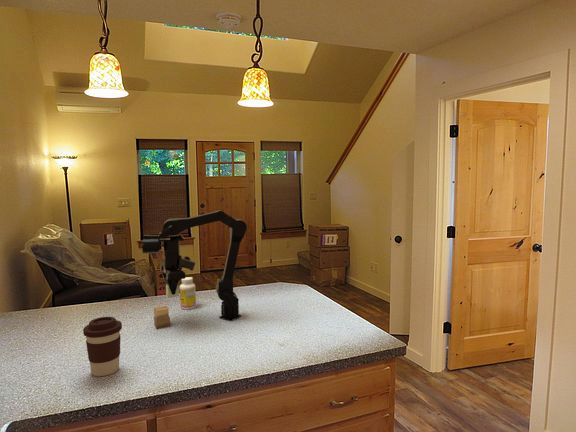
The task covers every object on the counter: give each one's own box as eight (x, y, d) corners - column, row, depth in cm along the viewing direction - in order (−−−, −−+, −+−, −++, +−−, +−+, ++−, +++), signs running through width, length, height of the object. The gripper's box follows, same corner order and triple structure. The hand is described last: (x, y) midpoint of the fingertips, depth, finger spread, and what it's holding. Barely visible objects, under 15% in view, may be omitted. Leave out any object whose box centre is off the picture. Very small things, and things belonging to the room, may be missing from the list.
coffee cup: (129, 362, 116) (126, 313, 115) (115, 379, 106) (112, 326, 105) (95, 363, 116) (93, 314, 115) (79, 380, 106) (75, 327, 105)
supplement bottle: (179, 306, 168) (177, 277, 167) (194, 304, 171) (193, 275, 170) (181, 311, 162) (180, 281, 161) (197, 308, 165) (196, 279, 164)
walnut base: (170, 327, 145) (169, 317, 144) (156, 329, 142) (156, 320, 142) (167, 322, 149) (167, 314, 149) (154, 325, 147) (153, 316, 147)
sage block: (178, 296, 146) (178, 285, 145) (168, 297, 144) (167, 287, 144) (176, 293, 149) (176, 283, 149) (166, 294, 147) (165, 284, 147)
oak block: (168, 317, 145) (168, 308, 144) (156, 320, 143) (156, 310, 142) (166, 314, 149) (166, 305, 148) (154, 316, 146) (153, 307, 146)
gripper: (199, 254, 141) (199, 296, 142) (187, 247, 157) (188, 284, 158) (167, 257, 136) (168, 300, 137) (159, 249, 152) (160, 287, 153)
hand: (172, 292), depth 146 cm, fingers closed on sage block, 4 cm apart
